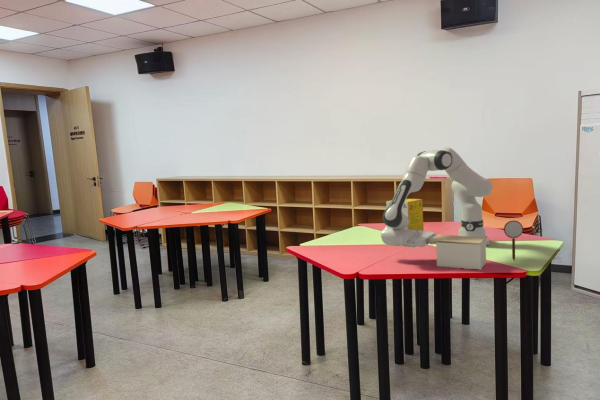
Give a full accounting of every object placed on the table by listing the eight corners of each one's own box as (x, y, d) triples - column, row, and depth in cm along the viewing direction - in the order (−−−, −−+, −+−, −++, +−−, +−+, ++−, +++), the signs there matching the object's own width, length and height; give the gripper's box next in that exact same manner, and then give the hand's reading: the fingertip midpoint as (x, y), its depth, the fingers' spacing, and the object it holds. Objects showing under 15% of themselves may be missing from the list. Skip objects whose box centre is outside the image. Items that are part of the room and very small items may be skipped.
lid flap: (438, 235, 226) (438, 234, 226) (485, 238, 214) (485, 237, 214) (430, 240, 214) (430, 239, 214) (480, 244, 202) (480, 243, 202)
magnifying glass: (522, 260, 216) (522, 220, 214) (523, 261, 215) (523, 220, 213) (503, 260, 218) (503, 220, 216) (504, 261, 217) (504, 221, 215)
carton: (444, 260, 225) (443, 237, 224) (486, 263, 215) (485, 239, 213) (436, 266, 215) (436, 242, 213) (480, 270, 204) (480, 244, 203)
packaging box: (387, 239, 286) (386, 201, 283) (402, 235, 297) (401, 198, 294) (408, 242, 274) (407, 202, 271) (423, 237, 284) (422, 199, 282)
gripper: (404, 236, 218) (433, 237, 210) (418, 228, 235) (444, 230, 227) (405, 248, 218) (433, 250, 211) (418, 240, 235) (444, 242, 228)
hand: (439, 240), depth 219 cm, fingers closed, pressing on lid flap
